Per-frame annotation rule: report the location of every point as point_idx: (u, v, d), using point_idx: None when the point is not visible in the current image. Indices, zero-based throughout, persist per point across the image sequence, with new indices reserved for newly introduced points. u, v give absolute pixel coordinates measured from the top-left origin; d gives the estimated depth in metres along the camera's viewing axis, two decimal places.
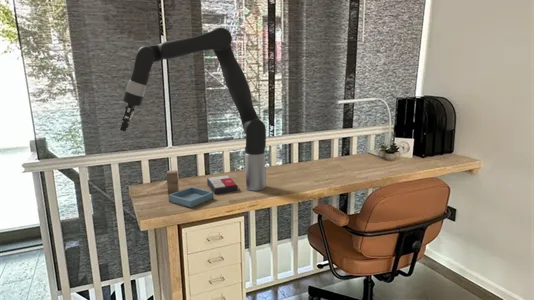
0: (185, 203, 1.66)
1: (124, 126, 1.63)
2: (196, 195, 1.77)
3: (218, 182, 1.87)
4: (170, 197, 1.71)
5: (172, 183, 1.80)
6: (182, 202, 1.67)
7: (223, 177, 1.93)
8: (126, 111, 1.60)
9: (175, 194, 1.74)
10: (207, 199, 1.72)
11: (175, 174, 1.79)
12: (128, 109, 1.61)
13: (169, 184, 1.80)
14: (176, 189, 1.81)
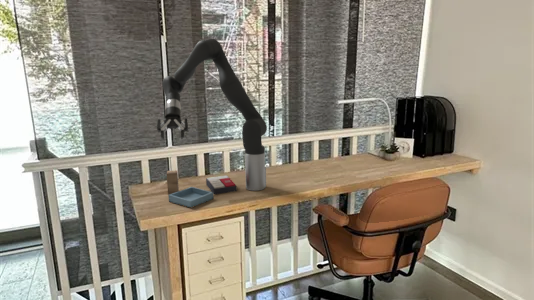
0: (185, 203, 1.66)
1: (161, 134, 1.86)
2: (196, 195, 1.77)
3: (217, 182, 1.87)
4: (170, 197, 1.71)
5: (172, 183, 1.80)
6: (182, 202, 1.67)
7: (222, 177, 1.94)
8: None
9: (175, 194, 1.74)
10: (207, 199, 1.72)
11: (175, 174, 1.79)
12: None
13: (169, 184, 1.80)
14: (176, 189, 1.81)
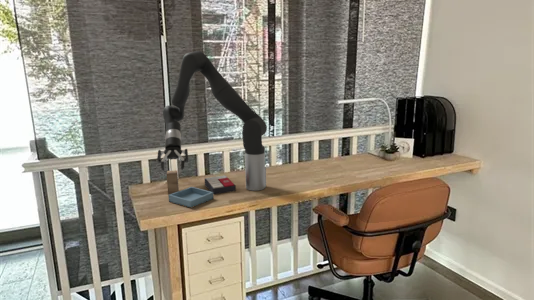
0: (185, 203, 1.66)
1: (161, 165, 1.86)
2: (196, 195, 1.77)
3: (216, 182, 1.87)
4: (170, 197, 1.71)
5: (172, 183, 1.80)
6: (182, 202, 1.67)
7: (220, 177, 1.94)
8: None
9: (175, 194, 1.74)
10: (207, 199, 1.72)
11: (175, 174, 1.79)
12: None
13: (169, 184, 1.80)
14: (176, 189, 1.81)
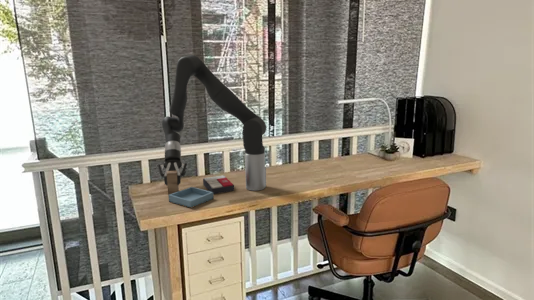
0: (185, 203, 1.66)
1: None
2: (196, 195, 1.77)
3: (214, 182, 1.87)
4: (170, 197, 1.71)
5: (172, 183, 1.80)
6: (182, 202, 1.67)
7: (219, 177, 1.94)
8: None
9: (175, 194, 1.74)
10: (207, 199, 1.72)
11: (175, 174, 1.79)
12: (158, 167, 1.84)
13: (169, 184, 1.80)
14: (176, 189, 1.81)
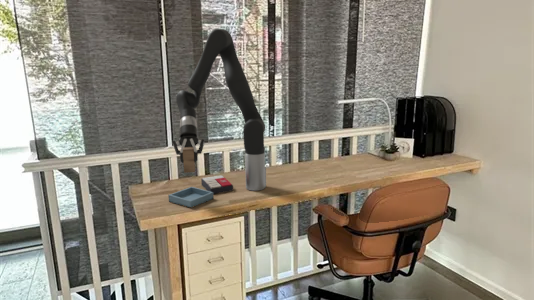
0: (185, 203, 1.66)
1: (180, 157, 1.68)
2: (196, 195, 1.77)
3: (213, 182, 1.87)
4: (170, 197, 1.71)
5: (188, 160, 1.67)
6: (182, 202, 1.67)
7: (217, 177, 1.94)
8: None
9: (175, 194, 1.74)
10: (207, 199, 1.72)
11: (192, 150, 1.66)
12: (173, 144, 1.71)
13: (185, 161, 1.67)
14: (193, 167, 1.68)
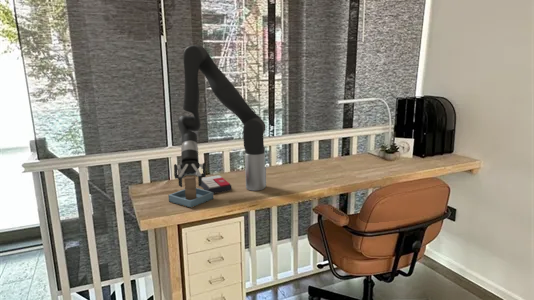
0: (185, 203, 1.66)
1: None
2: (196, 195, 1.77)
3: (211, 182, 1.87)
4: (170, 197, 1.71)
5: (190, 189, 1.70)
6: (182, 202, 1.67)
7: (215, 177, 1.94)
8: None
9: (175, 194, 1.74)
10: (207, 199, 1.72)
11: (193, 179, 1.69)
12: (174, 167, 1.74)
13: (187, 190, 1.70)
14: (194, 195, 1.71)
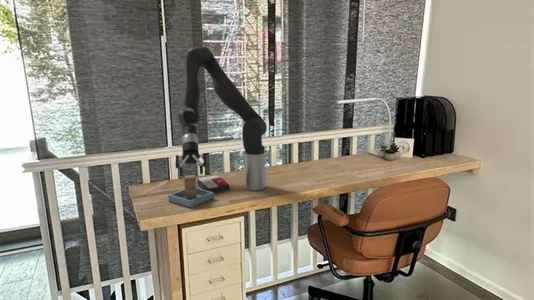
0: (185, 203, 1.66)
1: None
2: (196, 195, 1.77)
3: (209, 182, 1.87)
4: (170, 197, 1.71)
5: (190, 189, 1.70)
6: (182, 202, 1.67)
7: (213, 177, 1.94)
8: None
9: (175, 194, 1.74)
10: (207, 199, 1.72)
11: (193, 179, 1.69)
12: (176, 157, 1.87)
13: (187, 190, 1.70)
14: (194, 195, 1.71)
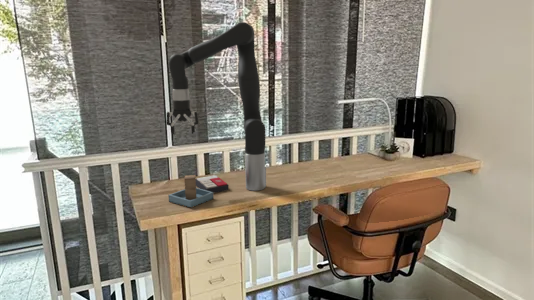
0: (185, 203, 1.66)
1: (171, 129, 1.83)
2: (196, 195, 1.77)
3: (208, 182, 1.87)
4: (170, 197, 1.71)
5: (190, 189, 1.70)
6: (182, 202, 1.67)
7: (211, 177, 1.94)
8: None
9: (175, 194, 1.74)
10: (207, 199, 1.72)
11: (193, 179, 1.69)
12: None
13: (187, 190, 1.70)
14: (194, 195, 1.71)
